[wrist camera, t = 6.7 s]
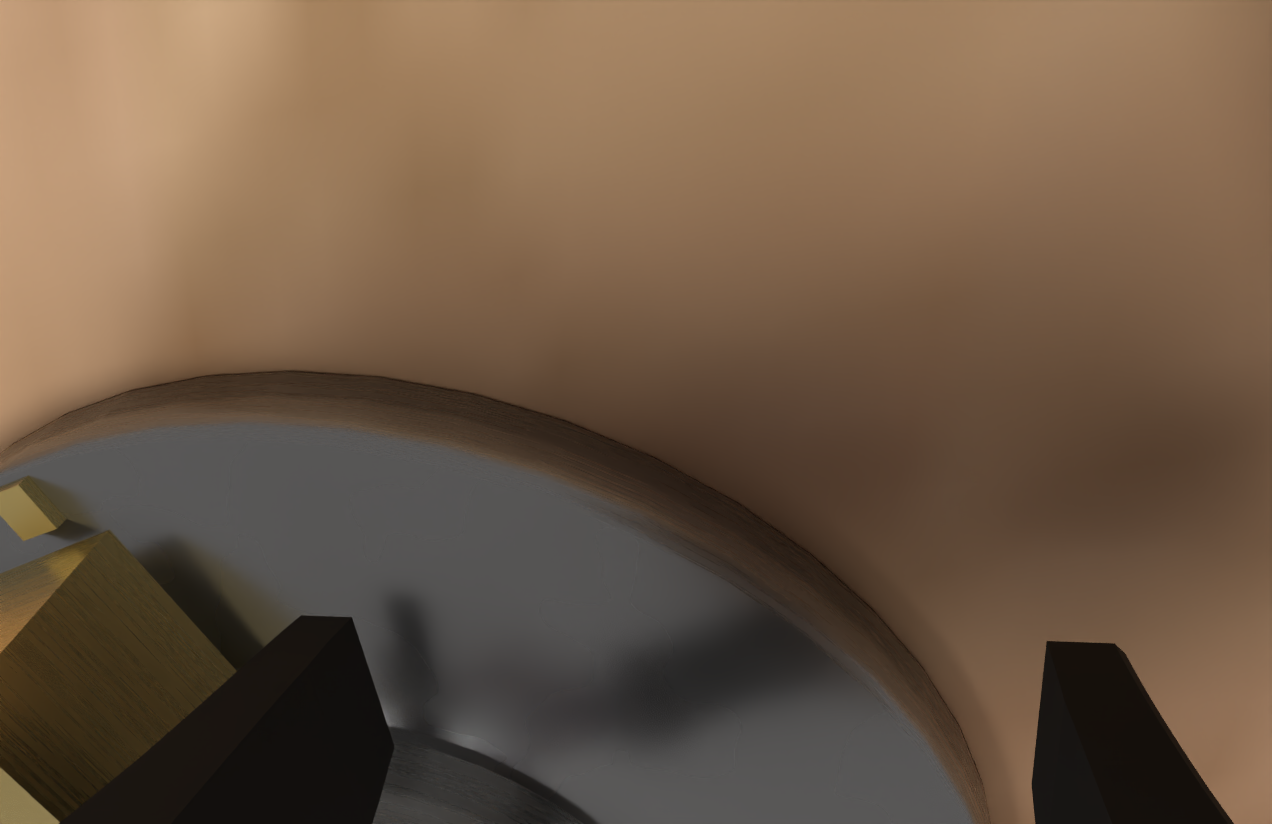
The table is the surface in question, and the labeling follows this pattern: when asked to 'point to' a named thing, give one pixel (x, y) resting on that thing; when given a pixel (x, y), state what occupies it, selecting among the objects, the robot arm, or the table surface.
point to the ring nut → (158, 697)
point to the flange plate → (510, 595)
